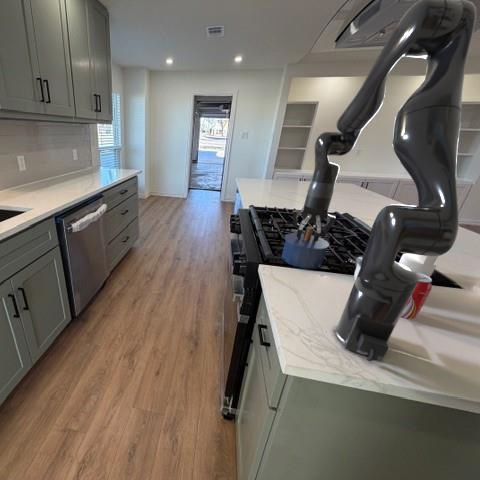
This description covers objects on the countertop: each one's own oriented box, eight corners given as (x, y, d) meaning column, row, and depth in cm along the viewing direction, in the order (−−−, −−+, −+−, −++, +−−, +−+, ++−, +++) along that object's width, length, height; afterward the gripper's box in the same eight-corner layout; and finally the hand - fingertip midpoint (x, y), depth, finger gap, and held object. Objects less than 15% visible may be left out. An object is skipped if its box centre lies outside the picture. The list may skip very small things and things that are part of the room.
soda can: (376, 304, 74) (392, 268, 69) (400, 305, 74) (418, 269, 69) (396, 320, 68) (415, 282, 63) (422, 321, 67) (444, 283, 63)
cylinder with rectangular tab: (390, 266, 96) (403, 237, 91) (417, 269, 95) (432, 240, 90) (406, 278, 88) (421, 247, 83) (436, 282, 86) (453, 250, 82)
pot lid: (329, 255, 86) (335, 238, 83) (283, 245, 92) (286, 229, 89) (327, 240, 97) (331, 225, 95) (285, 232, 104) (289, 218, 101)
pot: (321, 274, 89) (328, 252, 86) (279, 264, 95) (285, 243, 92) (319, 258, 100) (326, 239, 97) (282, 250, 106) (287, 232, 103)
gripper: (296, 194, 87) (284, 239, 94) (345, 199, 81) (329, 248, 88) (296, 190, 93) (286, 233, 100) (342, 195, 87) (328, 240, 94)
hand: (306, 239), depth 94 cm, fingers open, 4 cm apart
